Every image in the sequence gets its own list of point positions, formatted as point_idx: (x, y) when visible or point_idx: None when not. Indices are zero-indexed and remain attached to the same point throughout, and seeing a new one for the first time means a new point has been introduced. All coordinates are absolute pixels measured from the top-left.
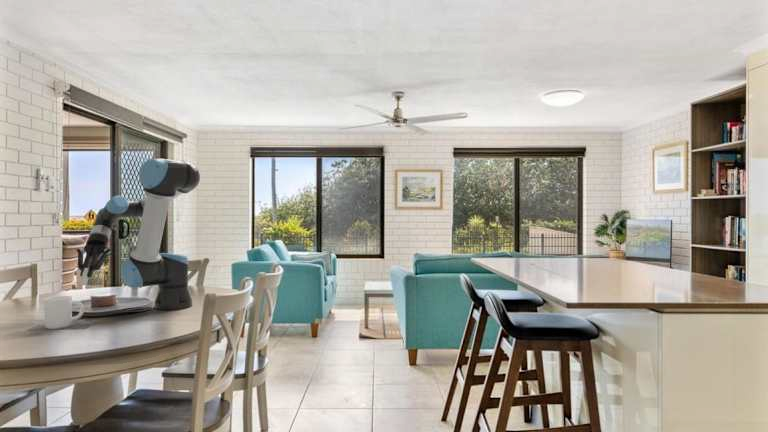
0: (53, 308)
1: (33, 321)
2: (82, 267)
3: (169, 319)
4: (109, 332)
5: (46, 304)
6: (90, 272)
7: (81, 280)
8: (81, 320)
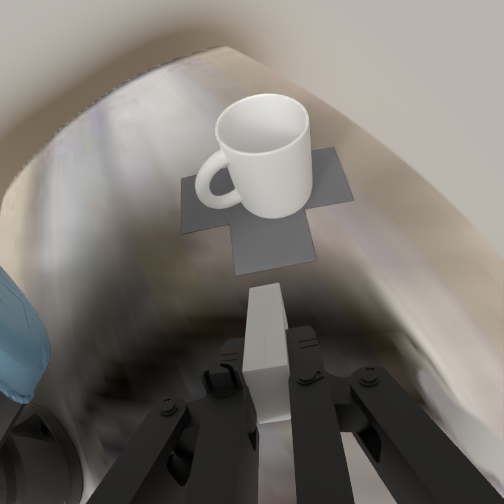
0: (257, 116)
1: (411, 245)
2: (317, 368)
3: (22, 283)
4: (119, 162)
5: (280, 105)
6: (225, 358)
7: (270, 287)
8: (245, 264)
